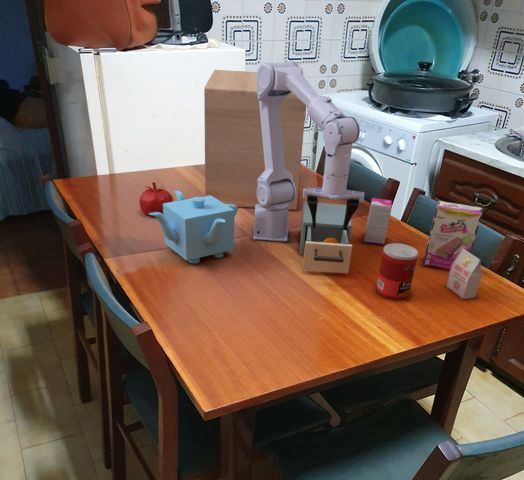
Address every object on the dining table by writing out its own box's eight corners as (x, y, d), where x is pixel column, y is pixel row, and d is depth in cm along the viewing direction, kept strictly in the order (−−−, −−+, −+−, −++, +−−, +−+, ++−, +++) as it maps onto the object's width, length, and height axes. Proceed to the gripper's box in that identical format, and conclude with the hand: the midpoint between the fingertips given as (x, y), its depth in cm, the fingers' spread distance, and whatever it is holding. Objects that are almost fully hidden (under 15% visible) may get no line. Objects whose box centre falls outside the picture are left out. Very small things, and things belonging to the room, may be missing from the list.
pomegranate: (164, 221, 161) (162, 189, 155) (134, 215, 163) (131, 184, 158) (179, 210, 169) (178, 180, 163) (149, 205, 171) (148, 175, 166)
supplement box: (384, 245, 154) (392, 206, 148) (363, 243, 155) (370, 203, 149) (384, 238, 159) (392, 199, 152) (364, 235, 160) (370, 197, 153)
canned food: (402, 303, 127) (412, 260, 121) (370, 293, 130) (378, 250, 124) (413, 291, 132) (423, 249, 126) (382, 281, 136) (390, 240, 130)
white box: (457, 284, 137) (468, 247, 131) (475, 297, 132) (487, 259, 126) (445, 286, 136) (455, 248, 130) (462, 299, 130) (474, 260, 125)
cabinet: (347, 258, 146) (352, 225, 141) (300, 254, 146) (303, 222, 141) (343, 235, 159) (347, 204, 154) (300, 232, 159) (303, 201, 154)
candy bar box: (421, 266, 144) (436, 205, 135) (423, 258, 148) (437, 199, 139) (465, 274, 142) (483, 213, 132) (465, 266, 146) (483, 206, 136)
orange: (333, 264, 140) (345, 248, 137) (317, 254, 139) (329, 238, 136) (332, 255, 144) (344, 240, 141) (316, 246, 143) (328, 230, 140)
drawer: (349, 283, 132) (353, 255, 128) (302, 279, 132) (305, 251, 128) (344, 249, 148) (348, 224, 144) (302, 246, 149) (305, 220, 145)
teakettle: (240, 243, 150) (241, 190, 142) (224, 273, 135) (225, 215, 127) (173, 235, 153) (171, 183, 144) (151, 263, 137) (147, 206, 129)
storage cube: (296, 210, 174) (307, 93, 154) (205, 205, 173) (204, 87, 153) (292, 177, 202) (301, 74, 182) (214, 173, 201) (214, 69, 182)
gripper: (305, 175, 125) (300, 231, 133) (368, 180, 125) (359, 236, 132) (305, 166, 131) (300, 221, 138) (365, 171, 131) (357, 225, 138)
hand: (329, 227), depth 136 cm, fingers open, 7 cm apart
